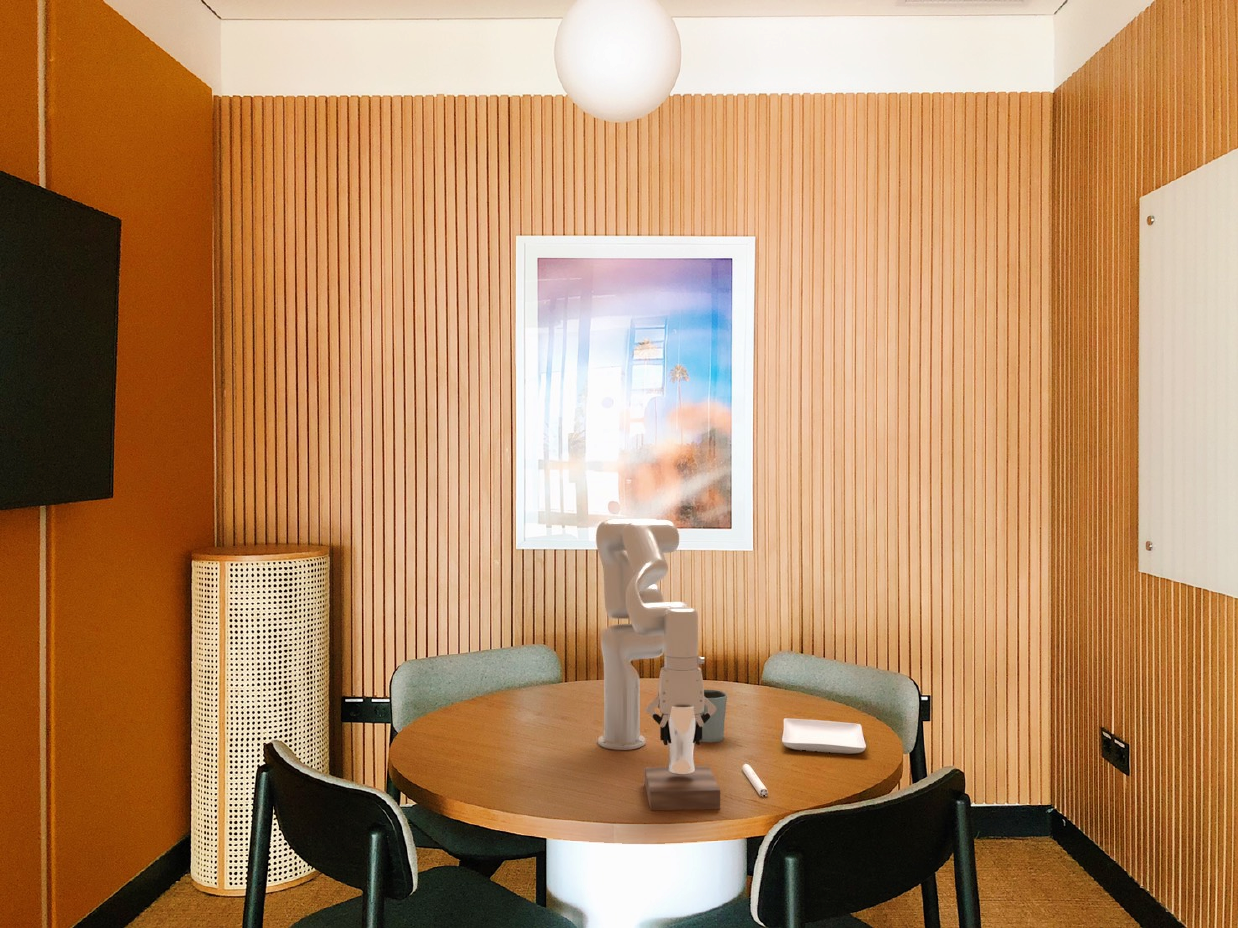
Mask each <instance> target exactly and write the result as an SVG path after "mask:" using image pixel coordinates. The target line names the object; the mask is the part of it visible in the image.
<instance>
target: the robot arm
mask: <svg viewBox="0 0 1238 928" xmlns="http://www.w3.org/2000/svg"><path fill="white" fill-rule="evenodd" d="M595 542H596V543H595V544H596V549H597V551H598V556H599V558H600V561H601V565H602V571H603V590H604V591H603V592H604V593H603V594H604V596H603V597H604V608H605V612H606V615H607V617H609V618H611V619H616V620H629V621H630V623H621V624H619V623H618V624H612V625H609V626H607V627H605V629H604V630H603V631H602V632H601V636H600V647H601V653H602V660H603V661H602V662H603V691H604V692H603V734H602V735H600V736H599V737H598V739H597V744H598V745H599V746H600V747H602V748H605V749H608V750H609V749H610V750H613V751H629V750H636V749H639V748H641V747H643V746H644V745H645V744H646V738H645V737H644V735H642V734H640V729H641V727H640V724H641V723H640V716H641V715H640V707H641V706H640V705H641V702H640V698H641V697H640V692H641V691H640V686H641V685H640V679H641V678H640V674H639V672H638V671H637V670H636V668H635V667H634V666H633V665H632V663H631V661H636V660H647V659H657V658H659V657H661V656H663V654H664V659H663V661H664V663H663V664H664V666H663V667H660V672H659V677H658V678H659V679H658V686H657V687H658V688H657V689H658V691H657V696H656V698H655V699H654V700H652V701H651V703H649V704H648V705H647V706H646V707H645V711H646V713H648V715H649V716H650V717H652V719H653V720H654V721H655V723H657V725H659V727H660V730H659V731H660V732H659V735H660V737H659V738H660V741H662V742H663V745H664V746H667V745H668V746H669V744H668V728H667V727H666V723H667V721H668V715H670V713H671V708H672V706H676V707H689V706H694V710H695V714H696V716H697V728H696V738H695V745H697V746H699V745H701V744H700V743H701V742H700V740H702V726H704V724H705V722H706V721H707V720H708V719H709V718H710V717H711V715H713V713H714V712H715V711H716V710H717V709H716V707H715V706H714V705H713V704H712V703H711V702H710V701H709V700H708V699H707V698H706V697H705V696H704V690H705V689H704V680H703V673H702V669H701V667H699V666H700V665H702V664H705V657H701V656H699V614H698V611H697V609H695V608H694V607H690V606H689V605H688V604H687V603H686V602H684V601H676V600H675V601H664V597H663V593H662V590H661V589H660V587H659V586H658V585H657V584H658V583H659V582H660V581H662V580H663V579H664V578H665V577H666V576H667V573H668V571H669V566H668V562H667V559H666V558H665V554H669V553H674V552H675V551H676V550H678V546H679V544H680V533H679V530H678V528H677V526H676V525H675V524H674V523H673V522H672V521H671V520H669V519H660V518H612V519H607V520H603V521H602V522H600V523H599V525H598V527H597V529H596V533H595ZM625 551H626V552H625ZM704 704H705V705H706V706H707V707H708V710H707V711H706V712H705V713H704V714H703V715H702V716H700V714H701V713H703V712H704ZM657 707H658V710H659V712H660V714H661V715H659V714H658V713H657V712H656V711H655V709H656V708H657Z"/></svg>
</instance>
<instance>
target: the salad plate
mask: <svg viewBox="0 0 1238 928" xmlns="http://www.w3.org/2000/svg"><path fill="white" fill-rule="evenodd" d="M781 737H782V738H781V743H782V744H783V745H784V746H785V747H786V748H788V749H792V750H796V751H802V750H806V751H805V752H815V751H817V753H829V752H830V754H831V753H833V754H846V755H847V754H848V755H849V754H859V753H862V752H864V751H865V750H866V748H867V744H866V742H865V741H866V740H865V739H864V738H865V737H864V733H863V727H862V724H860V723H854V722H853V723H852V722H842V721H831V720H822V719H821V720H818V719H805V718H804V719H803V718H787V717H785V718H783V732H782V736H781Z"/></svg>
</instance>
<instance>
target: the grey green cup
mask: <svg viewBox="0 0 1238 928" xmlns="http://www.w3.org/2000/svg"><path fill="white" fill-rule="evenodd" d="M704 696H705V697H706V698H707V699H708V700H709V701H710V702H711V703H712V704H713V705H714V706H715V707H716V709H717V710H716V711H715V712H714V713H713V715H711V717H710V718H709V719H708V720H707V721H706V722H705V724H704V726H702V740H700V743H717V742H721V741H723V740H724V736H725V732H724V731H725V721H726V720H725V719H726V713H727V711H726V710H727V707H726V706H727V701H728V694H727V693H726V692H724V691H721V690H717V689H704ZM707 710H708V707H707V706H706V705H705V704H704V712H703V713H701V714H700V716H702V715H703V714H704V713H705V712H706V711H707Z"/></svg>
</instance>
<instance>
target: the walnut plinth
mask: <svg viewBox="0 0 1238 928" xmlns="http://www.w3.org/2000/svg"><path fill="white" fill-rule="evenodd" d="M694 767H695V772H694V773H692V774H689V775H675V774H672V773H670V772H669V771H668V766H654V767H653V766H652V767H651V766H649V767H648V766H646V767H644V787H646V788H645V792H646V797H647V796H648V797H647V800H649V801H648V805H649V808H650V811H675V810H676V811H678V810H679V811H685V810H720V809H721V789H720V787H719V785H718V783H717V780H716V778H715V776H714V774H713V772H712V770H711V768H710V766H709V765H708V766H707V765H706V766H701V765H700V766H695V765H694Z"/></svg>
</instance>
